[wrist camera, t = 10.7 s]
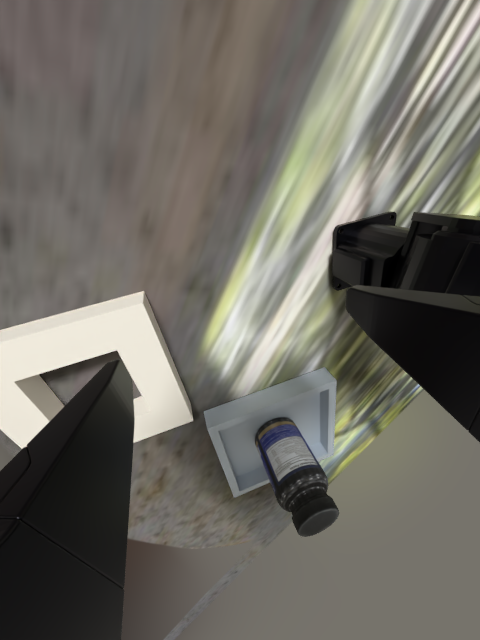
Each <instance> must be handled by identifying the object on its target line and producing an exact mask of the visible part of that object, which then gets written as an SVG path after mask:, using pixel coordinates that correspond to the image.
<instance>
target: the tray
mask: <svg viewBox="0 0 480 640" xmlns="http://www.w3.org/2000/svg"><path fill="white" fill-rule="evenodd" d="M336 383H337V380H336V379H335V378H334V377H333V376H332V375H331V374H330V372H329V371H328V370H327V369H326V368H325V367H324V368H321V369H318V370H315V371H313V372H310V373H307V374H304V375H302V376H299V377H296V378H293V379H291V380H288V381H285V382H283V383H280V384H277V385H274V386H272V387H269V388H266V389H263V390H261V391H258V392H255V393H252V394H250V395H247V396H244V397H241V398H239V399H236V400H233V401H230V402H228V403H225V404H222V405H220V406H217V407H214V408H211V409H209V410H206V411H204V416H205V421H206V426H207V430H208V432H209V435H210V437H211V440H212V442H213V445H214V447H215V450H216V453H217V455H218V458H219V460H220V463H221V465H222V468H223V470H224V473H225V475H226V478H227V481H228V483H229V486H230V488H231V491H232V493H233V496H234V498H235V497H237V496H240V495H242V494H244V493H247V492H249V491H251V490H254V489H256V488H258V487H261V486H263V485H265V484H267V483H270V481H269V478H268V475H267V473H266V470H265V468H264V465H263V463H262V460H261V458H260V455H259V452H258V450H257V447H256V445H255V437H256V434H257V432H258V430H259V429H260V427H261V426H262V425H264V424H265V423H266V422H268V421H270V420H272V419H275V418H283V417H286V418H289V419H291V420H293V422H294V423H295V424H296V426H297V427H298V429H299V431H300V433H301V434H302V436H303V438H304V439H305V441H306V443H307V444H308V446H309V448H310V449H311V451H312V453H313V454H314V456H315V458H316V459H317V461H321V460H323V459H325V458H327V457H330V456H332V455H333V454H334V431H335V407H336Z"/></svg>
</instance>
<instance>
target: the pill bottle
mask: <svg viewBox="0 0 480 640" xmlns="http://www.w3.org/2000/svg"><path fill="white" fill-rule="evenodd" d="M255 445H256V447H257V450H258V452H259V455H260V458H261V460H262V463H263V465H264V468H265V470H266V473H267V475H268V478H269V481H270V483H271V486H272V488H273V491H274V493H275V496H276V498H277V501H278V503H279V505H280V506H281V507H282V508H283V509H284V510H286V511H289V512H292V515H293V517H292V520H293V523H294V525H295V528H296V530H297V532H298V534H299V535H300V536H304V537H306V536H311V535H315V534H317V533H319V532H321V531H323V530H325V529H326V528H327V527H329V526H330V525H331V524H332V523H334V521H335V520H336V519H337V517H338V515H339V510H338V508H337V506H336V505H335V503H334V501H333V499H332V498H331V497H330V496H328V495H327V494H326V492H327V489H328V479H327V476H326V475H325V473H324V471H323V469H322V468H321V466H320V464H319V463H318V461H317V459H316V458H315V456H314V454H313V453H312V451H311V449H310V448H309V446H308V444H307V443H306V441H305V439H304V438H303V436H302V434H301V433H300V431H299V429H298V427H297V426H296V424H295V423H294V422H293V420H291V419H289V418H286V417H283V418H275V419H272V420H270V421H268V422H266V423H265V424H264V425H262V426H261V427H260V429H259V430H258V432H257V434H256V437H255Z"/></svg>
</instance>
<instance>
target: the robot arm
mask: <svg viewBox="0 0 480 640" xmlns="http://www.w3.org/2000/svg"><path fill="white" fill-rule="evenodd" d="M390 216H391V218H390ZM411 220H413V221H412V223H411V226H410V228H404V227H398V226H395V223H396V213H395V212H386V213H382V214H379V215H375V216H371V217H367V218H363V219H360V220H356V221H352V222H348V223H344V224H341V225H338V226H336V227H335V229H334V247H333V269H332V275H333V288H334V289H335V290H342V289H345V288H348V287H349V288H348V289H347V291H346V310H347V312H348V313H349V314H350V315H351V316H352V318H353V319H354V320H355V321H356V322H357V323H358V325H359V326H360V327H361V328H362V329H363V330H364V332H365V333H366V334H367V335H368V336H369V337H370V338H371V339H372V340H373V341H374V342H375V343H376V344H377V345H378V346H379V347H380V348H381V349H382V350H383V351H384V352H385V353H386V354H388V355H389V356H390V357H391V358H392V359H393V360H394V361H395V362H396V363H397V364H398V365H399V366H400V367H401V368H402V369H403V370H404V371H405V372H406V373H408V374H409V375H410V376H411V377H412V378H413V379H414V380H415V381H416V382H417V383H418V384H419V385H420V386H421V387H422V388H423V389H424V390H425V391H427V392H428V393H429V394H430V395H431V396H432V397H433V398H434V399H435V400H436V401H437V402H438V403H439V404H440V405H441V406H442V407H443V408H444V409H445V410H446V411H448V412H449V413H450V414H451V415H452V416H453V417H454V418H455V419H456V420H457V421H458V422H459V423H460V424H461V425H462V426H463V427H464V428H465V429H466V430H469V433H471V435H473V436H474V437H475V438H476V439H477V440H478V441H479V442H480V216H469V215H457V214H439V213H421V212H414V213H413V216H412V219H411ZM340 229H341V232H340V233H339V230H340ZM338 284H339V285H338ZM337 285H338V286H337ZM351 286H353V287H351ZM134 423H135V418H134V401H133V386H132V379H131V376H130V374H129V372H128V371H127V369H126V367H125V365H124V363H123V362H122V361H121V360H120V359H118V360H114V361H111V362H108V363H107V364H106V365H105V366H104V367H103V368H102V369H101V370H100V371H99V372H98V373H97V374H96V375H95V376H94V377H93V378H92V379H91V380H90V381H89V382H88V383H87V384H86V385H85V386H84V387H83V388H82V389H81V390H80V391H79V392H78V393H77V394H76V395H75V396H74V397H73V398H72V399H71V400H70V401H69V402H68V403H67V404H66V405H65V406H64V407H63V408H62V409H61V410H60V411H59V412H58V413H57V414H56V415H55V417H54V418H53V419H52V420H51V421H50V422H49V423H48V424H47V425H46V426H45V427H44V428H43V429H42V430H41V431H40V432H39V433H38V434H37V435H36V436H35V437H34V438H33V439H32V440H31V441H30V442H29V443H28V444H27V447H24V448H23V449H22V450H21V451H20V452H19V453H18V454H17V455H16V456H15V457H14V458H13V459H12V460H11V461H10V462H9V463H8V464H7V465H6V466H5V467H4V468H3V469H2V470H1V471H0V640H121V632H122V617H123V601H124V589H123V588H124V583H125V567H126V550H127V535H128V519H129V504H130V488H131V472H132V456H133V440H134Z"/></svg>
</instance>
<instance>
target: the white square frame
mask: <svg viewBox="0 0 480 640" xmlns="http://www.w3.org/2000/svg"><path fill="white" fill-rule="evenodd" d="M116 350H117V351H118V353H119V355H120V357H121V359H122V360H123V362H124V364H125V366H126V368H127V369H128V371H129V373H130V375H131V377H132V378H133V380H134V382H135V384H136V386H137V387H138V389H139V391H140V393H141V395H142V396H141V397H138V398H135V399H133V401H134V418H135V423H134V440H133V443H135V442H137V441H140V440H143V439H145V438H148V437H151V436H153V435H156V434H159V433H162V432H164V431H167V430H170V429H172V428H175V427H178V426H181V425H183V424H186V423H189V422H191V421H193V416H192V409H191V403H190V401H189V398H188V396H187V393H186V391H185V389H184V386H183V384H182V381H181V379H180V376H179V374H178V372H177V369H176V367H175V364H174V362H173V359H172V357H171V355H170V352H169V350H168V347H167V345H166V343H165V340H164V338H163V335H162V333H161V330H160V328H159V326H158V323H157V321H156V318H155V316H154V314H153V311H152V309H151V306H150V304H149V301H148V299H147V297H146V294H145V292H144V291H142V292H138V293H134V294H131V295H127V296H123V297H120V298H116V299H112V300H109V301H105V302H101V303H98V304H94V305H90V306H87V307H83V308H79V309H76V310H72V311H68V312H65V313H61V314H57V315H54V316H50V317H46V318H43V319H39V320H35V321H32V322H28V323H24V324H21V325H17V326H13V327H10V328H6V329H2V330H0V429H1V430H2V431H3V432H4V433H5V434H6V435H7V436H8V437H9V438H11V439H12V440H13V441H14V442H15V443H16V444H17V445H18V446H19V447H20V448H22V449H23V448H24V447H27V444H28V443H29V442H30V441H31V440H32V439H33V438H34V437H35V436H36V435H37V434H38V433H39V432H40V431H41V430H42V429H43V428H44V427H45V426H46V425H47V424H48V423H49V422H50V421H51V420H52V419H53V418H54V417H55V415H56V414H57V413H58V412H59V411H60V410H61V409H62V408H63V407H64V405H63V404H62V402H61V401H60V400H59V399H58V397H57V396H56V395H55V394H54V393H53V391H52V390H51V389H50V388H49V386H48V385H47V384H46V383H45V382H44V380H43V379H42V378H41V377H40V375H39V374H41V373H44V372H48V371H51V370H54V369H57V368H61V367H64V366H67V365H71V364H74V363H77V362H80V361H84V360H87V359H90V358H93V357H97V356H100V355H103V354H107V353H110V352H113V351H116Z"/></svg>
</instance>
